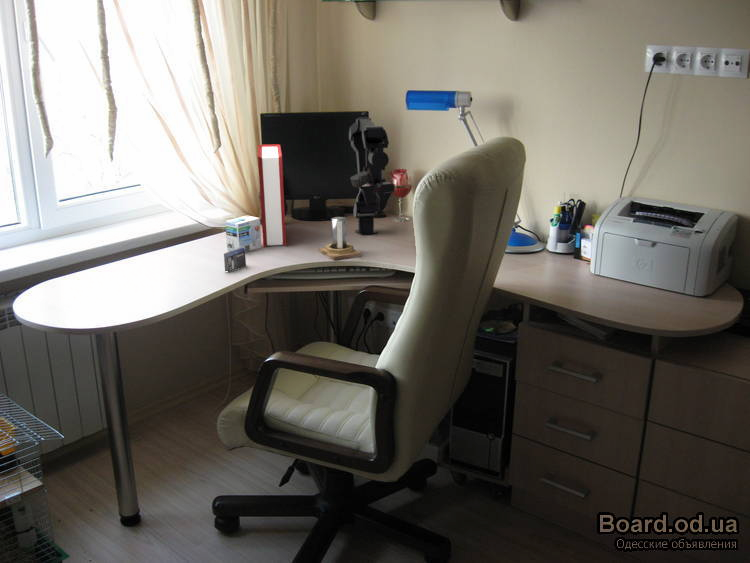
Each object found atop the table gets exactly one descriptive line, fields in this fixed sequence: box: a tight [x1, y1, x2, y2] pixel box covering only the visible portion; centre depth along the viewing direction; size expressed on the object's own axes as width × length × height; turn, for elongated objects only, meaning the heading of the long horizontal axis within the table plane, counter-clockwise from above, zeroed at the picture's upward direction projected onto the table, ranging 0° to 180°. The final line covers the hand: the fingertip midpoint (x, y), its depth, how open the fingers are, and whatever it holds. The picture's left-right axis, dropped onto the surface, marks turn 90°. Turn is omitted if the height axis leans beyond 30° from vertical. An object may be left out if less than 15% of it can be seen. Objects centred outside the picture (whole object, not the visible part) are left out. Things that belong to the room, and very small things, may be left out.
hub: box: [318, 242, 362, 261], centre depth 250 cm, size 12×10×3 cm
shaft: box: [330, 216, 348, 249], centre depth 249 cm, size 5×5×11 cm
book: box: [257, 143, 287, 248], centre depth 267 cm, size 27×8×32 cm, turn 8°
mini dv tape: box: [223, 248, 247, 273], centre depth 235 cm, size 8×2×6 cm, turn 149°
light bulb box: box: [224, 215, 262, 253], centre depth 255 cm, size 11×7×11 cm, turn 143°
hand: (374, 208), depth 257 cm, fingers open, 9 cm apart
